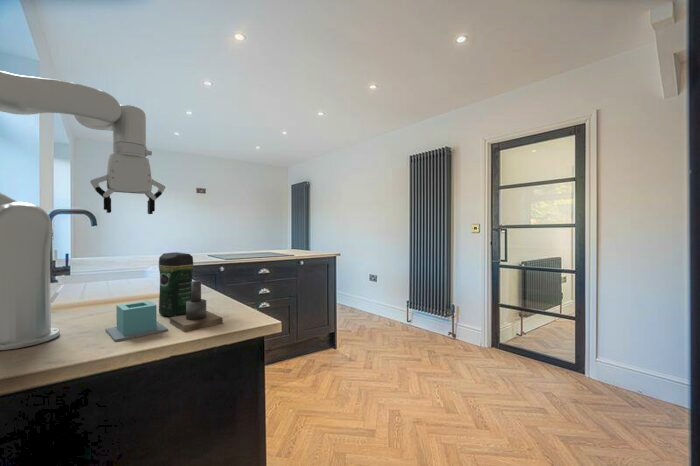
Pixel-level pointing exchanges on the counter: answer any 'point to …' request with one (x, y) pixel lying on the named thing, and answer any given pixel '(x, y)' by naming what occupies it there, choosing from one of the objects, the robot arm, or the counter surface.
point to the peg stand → (195, 312)
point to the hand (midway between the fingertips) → (130, 213)
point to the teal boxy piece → (136, 317)
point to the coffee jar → (175, 283)
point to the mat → (118, 336)
